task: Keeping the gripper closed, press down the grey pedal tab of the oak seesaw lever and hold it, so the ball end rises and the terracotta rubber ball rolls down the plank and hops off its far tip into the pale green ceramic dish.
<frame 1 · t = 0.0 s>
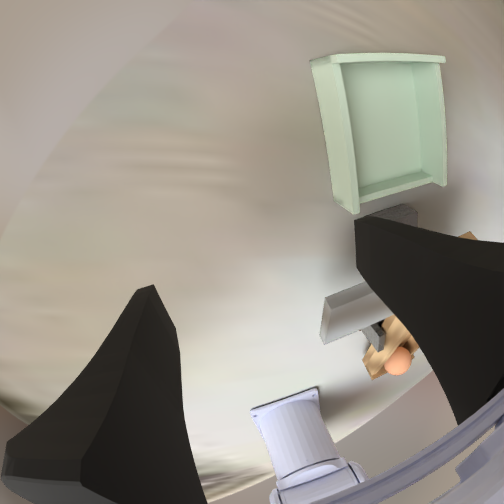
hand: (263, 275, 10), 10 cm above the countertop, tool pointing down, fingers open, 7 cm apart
lever: (386, 338, 22), point 5 cm above the countertop, hinge at -20.0°, touching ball
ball: (397, 361, 27), point 4 cm above the countertop, tilted 17°, touching lever
dish: (378, 123, 19), on the countertop
fulcrum: (383, 295, 27), on the countertop
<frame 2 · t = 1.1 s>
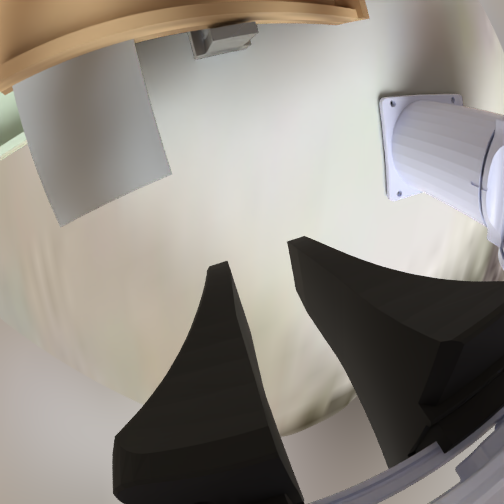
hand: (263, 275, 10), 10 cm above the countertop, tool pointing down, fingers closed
lever: (219, 26, 10), point 5 cm above the countertop, hinge at -20.0°, touching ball
fulcrum: (206, 3, 13), on the countertop
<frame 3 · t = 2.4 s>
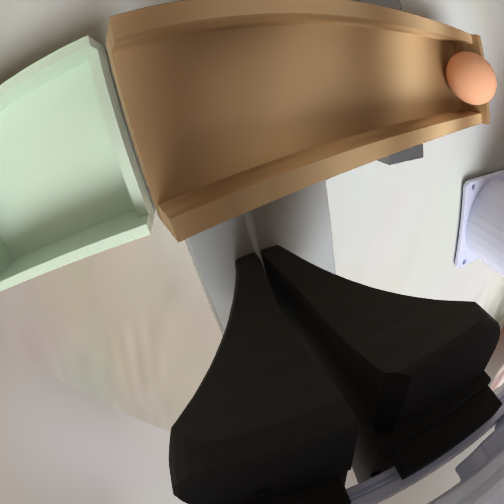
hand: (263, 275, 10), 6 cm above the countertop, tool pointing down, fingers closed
lever: (395, 150, 11), point 5 cm above the countertop, hinge at -15.7°, touching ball, gripper
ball: (471, 78, 10), point 4 cm above the countertop, tilted 11°, touching lever
dish: (41, 167, 12), on the countertop
fulcrum: (338, 78, 14), on the countertop
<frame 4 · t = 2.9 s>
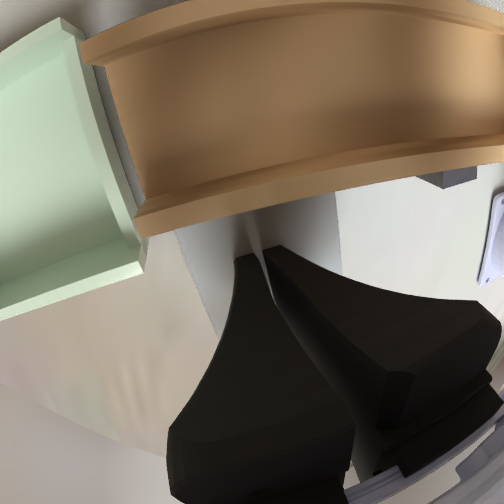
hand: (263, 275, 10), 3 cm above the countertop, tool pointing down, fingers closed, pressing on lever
lever: (435, 170, 8), point 5 cm above the countertop, hinge at 8.3°, touching gripper
dish: (13, 183, 9), on the countertop
fulcrum: (372, 76, 11), on the countertop
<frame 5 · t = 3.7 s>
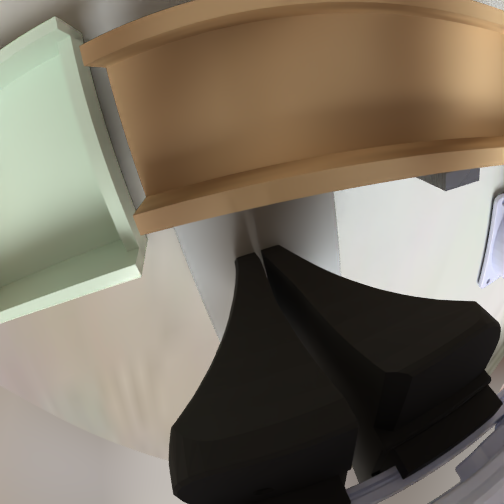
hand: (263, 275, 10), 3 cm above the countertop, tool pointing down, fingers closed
lever: (436, 171, 8), point 5 cm above the countertop, hinge at 10.7°, touching fulcrum, gripper
dish: (10, 185, 9), on the countertop
fulcrum: (373, 76, 11), on the countertop
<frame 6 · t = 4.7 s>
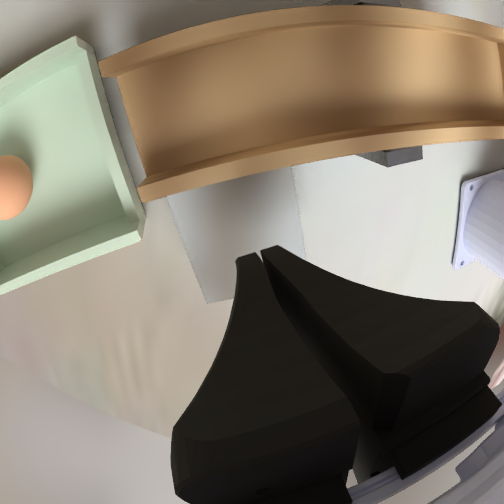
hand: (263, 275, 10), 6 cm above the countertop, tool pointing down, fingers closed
lever: (379, 151, 11), point 5 cm above the countertop, hinge at 10.7°, touching fulcrum
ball: (5, 187, 10), point 2 cm above the countertop, tilted 130°, touching dish
dish: (31, 171, 12), on the countertop
fulcrum: (335, 77, 13), on the countertop
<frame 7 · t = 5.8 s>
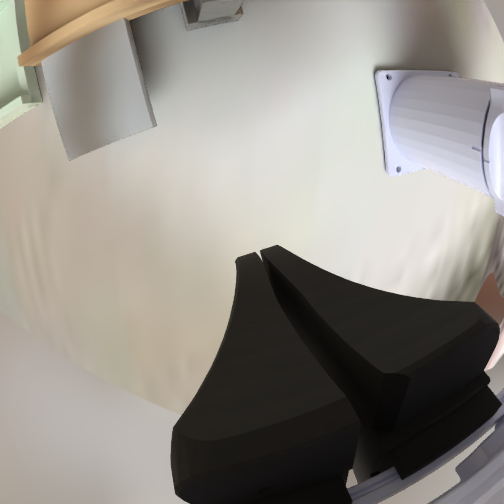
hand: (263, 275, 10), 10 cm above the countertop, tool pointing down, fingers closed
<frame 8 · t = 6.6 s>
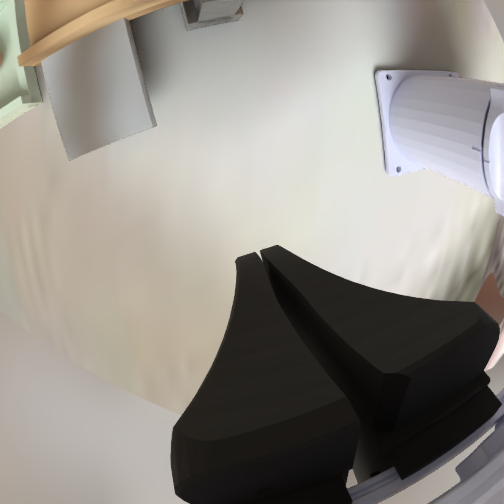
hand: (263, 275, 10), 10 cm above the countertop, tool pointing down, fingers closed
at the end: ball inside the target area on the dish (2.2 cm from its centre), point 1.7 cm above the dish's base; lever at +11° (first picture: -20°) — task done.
